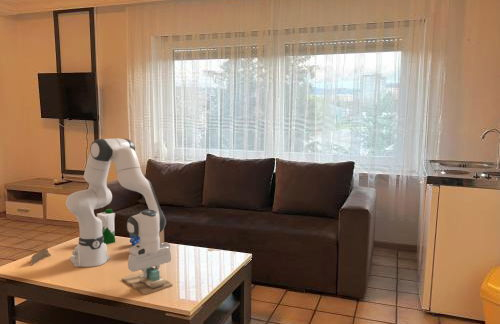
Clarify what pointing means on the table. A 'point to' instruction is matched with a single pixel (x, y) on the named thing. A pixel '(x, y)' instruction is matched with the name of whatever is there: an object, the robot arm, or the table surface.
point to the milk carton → (107, 225)
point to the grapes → (134, 239)
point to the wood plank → (40, 255)
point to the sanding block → (152, 278)
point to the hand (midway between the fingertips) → (150, 275)
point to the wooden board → (135, 283)
